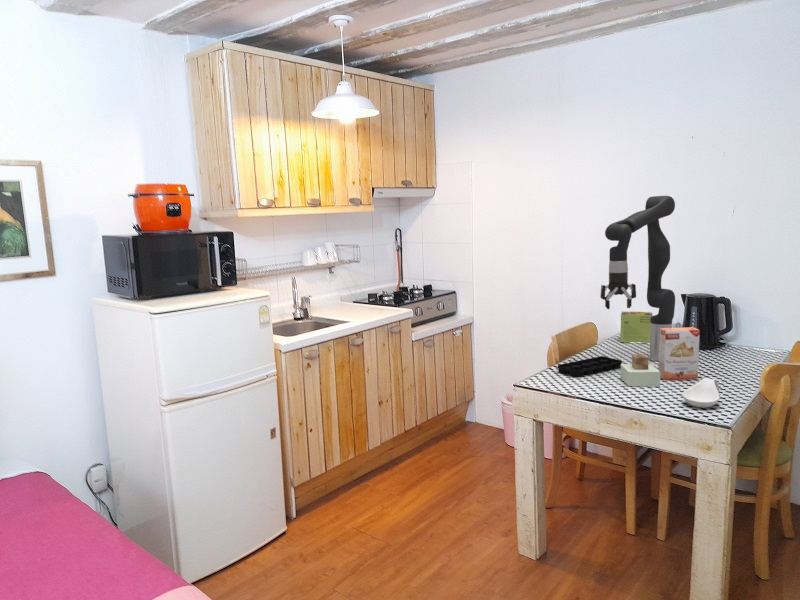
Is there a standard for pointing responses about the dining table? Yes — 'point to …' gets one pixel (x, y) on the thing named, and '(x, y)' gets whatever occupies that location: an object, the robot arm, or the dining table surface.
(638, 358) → the walnut cube
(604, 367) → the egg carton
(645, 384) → the stacking base
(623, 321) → the protein box
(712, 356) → the dining table surface
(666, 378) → the cracker box
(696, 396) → the spoon rest
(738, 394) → the dining table surface
